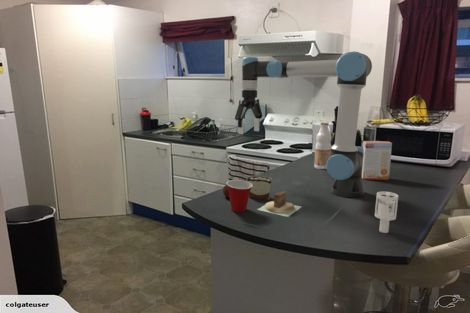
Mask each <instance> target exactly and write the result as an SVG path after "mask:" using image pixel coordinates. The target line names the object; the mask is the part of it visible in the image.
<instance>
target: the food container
mask: <svg viewBox="0 0 470 313" xmlns="http://www.w3.org/2000/svg"><path fill="white" fill-rule="evenodd" d="M245 181H247V182H250V183H251V184H253V187H252V188H251V190H250V193H249V198H251V199H260V200H267V201H269V200H270V199H271V198H270V197H271V191H272V185H274V181H273V178H272V177H270V176H267V175H259V174H257V175H255V174H254V175H249V176H247V177H246V180H245ZM249 198H248V199H249Z"/></svg>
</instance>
